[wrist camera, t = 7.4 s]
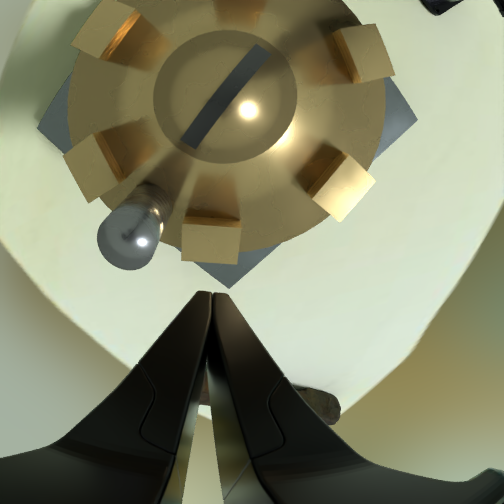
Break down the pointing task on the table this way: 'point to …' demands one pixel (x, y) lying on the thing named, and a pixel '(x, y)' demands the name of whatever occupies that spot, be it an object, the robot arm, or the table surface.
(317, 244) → the table surface
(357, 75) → the ring nut
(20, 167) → the table surface
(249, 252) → the base plate
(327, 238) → the table surface
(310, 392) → the rough bark branch
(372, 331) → the table surface
